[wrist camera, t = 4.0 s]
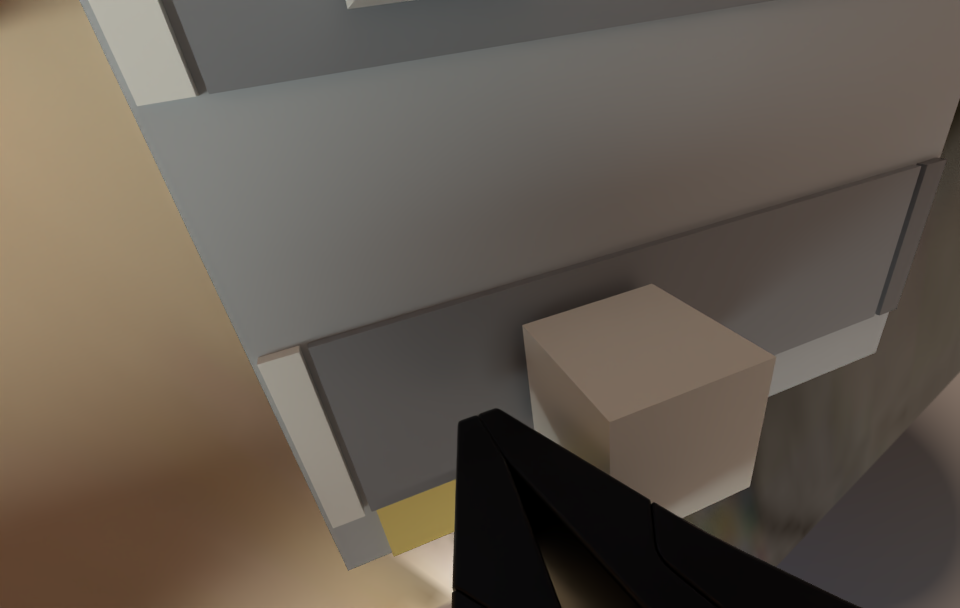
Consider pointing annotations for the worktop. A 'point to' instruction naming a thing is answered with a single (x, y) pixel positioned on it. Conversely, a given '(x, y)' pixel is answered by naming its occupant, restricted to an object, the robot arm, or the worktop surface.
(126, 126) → the worktop surface
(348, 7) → the toggle
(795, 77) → the breaker panel
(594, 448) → the toggle
